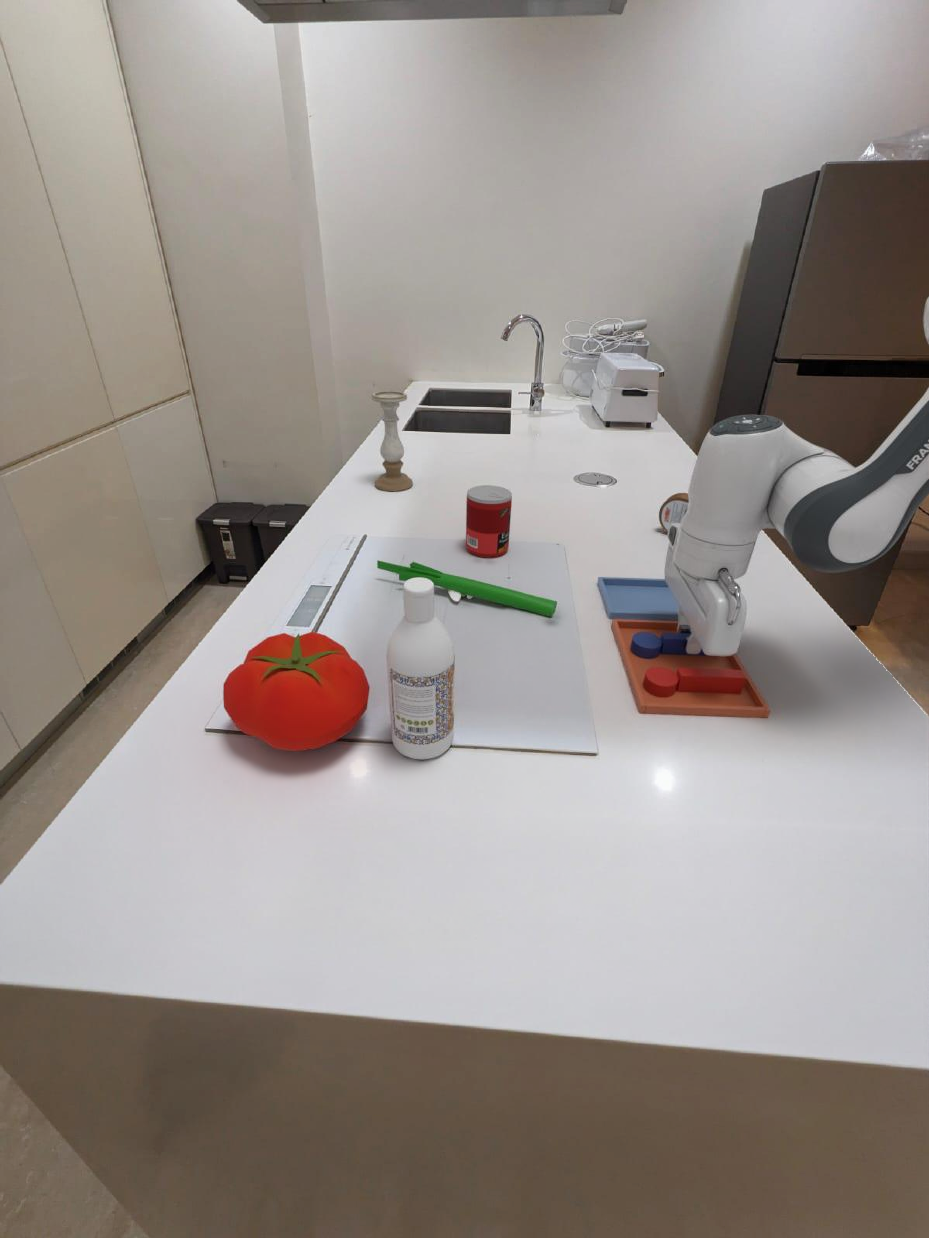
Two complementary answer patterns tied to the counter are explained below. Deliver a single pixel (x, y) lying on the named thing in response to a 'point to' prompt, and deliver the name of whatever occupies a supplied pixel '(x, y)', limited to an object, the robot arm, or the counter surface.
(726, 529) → the robot arm
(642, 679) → the terracotta tray
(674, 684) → the red spoon
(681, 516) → the tin
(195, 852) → the counter surface
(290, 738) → the tomato
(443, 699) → the bath foam
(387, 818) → the counter surface
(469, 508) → the canned food
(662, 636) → the blue spoon
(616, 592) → the slate tray
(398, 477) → the candle holder
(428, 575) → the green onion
